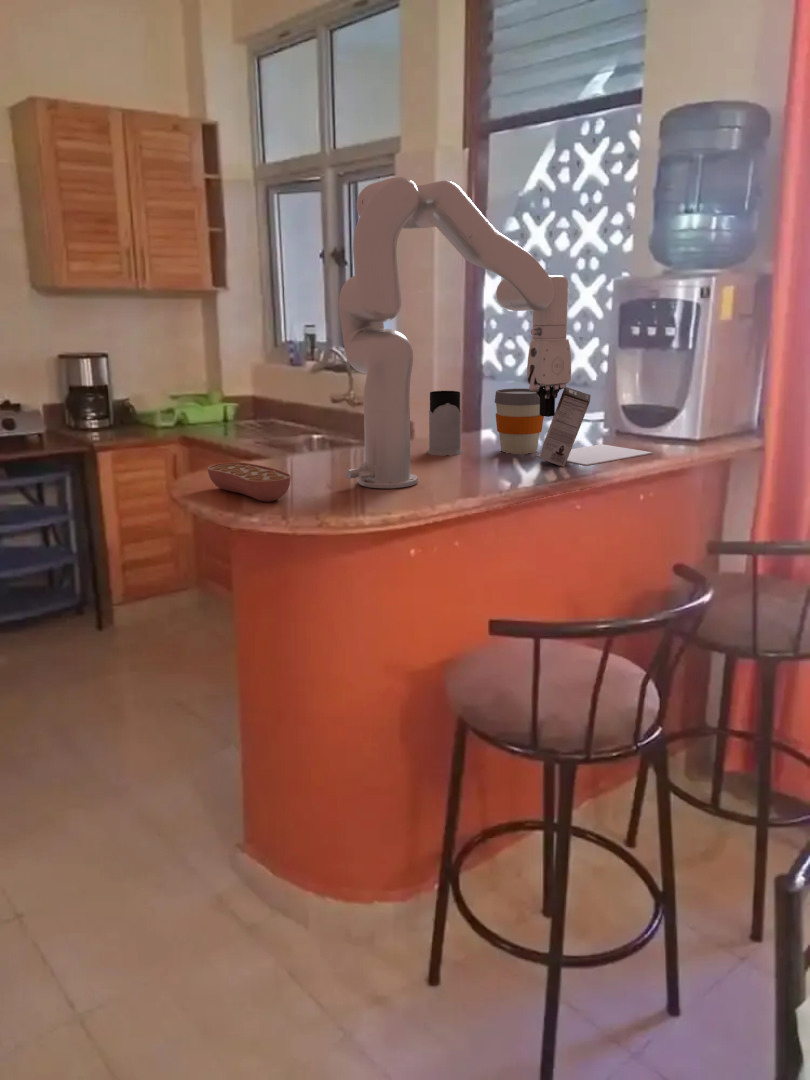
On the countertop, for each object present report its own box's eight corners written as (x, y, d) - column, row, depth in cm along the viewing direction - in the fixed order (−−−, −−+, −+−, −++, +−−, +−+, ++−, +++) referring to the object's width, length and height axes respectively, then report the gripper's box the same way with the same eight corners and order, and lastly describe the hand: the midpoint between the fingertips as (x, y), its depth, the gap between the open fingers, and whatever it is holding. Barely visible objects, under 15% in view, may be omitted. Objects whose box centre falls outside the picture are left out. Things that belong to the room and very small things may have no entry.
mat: (586, 465, 200) (586, 464, 200) (536, 456, 212) (536, 455, 212) (652, 453, 214) (652, 452, 214) (601, 445, 226) (601, 444, 226)
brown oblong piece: (201, 490, 181) (199, 466, 179) (242, 483, 187) (241, 460, 186) (260, 509, 164) (259, 483, 163) (304, 500, 170) (303, 475, 169)
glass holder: (430, 456, 214) (430, 394, 210) (422, 446, 228) (421, 388, 224) (465, 454, 215) (465, 393, 211) (454, 445, 229) (455, 387, 225)
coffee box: (540, 449, 207) (564, 385, 201) (566, 458, 207) (590, 394, 201) (538, 458, 199) (563, 392, 193) (565, 468, 198) (591, 401, 192)
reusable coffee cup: (539, 456, 212) (540, 394, 208) (488, 454, 216) (489, 393, 212) (547, 448, 223) (549, 388, 219) (499, 445, 227) (500, 387, 223)
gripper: (537, 335, 187) (535, 420, 192) (585, 332, 195) (581, 414, 200) (513, 334, 192) (511, 417, 198) (560, 331, 201) (557, 411, 206)
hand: (547, 415), depth 199 cm, fingers closed
